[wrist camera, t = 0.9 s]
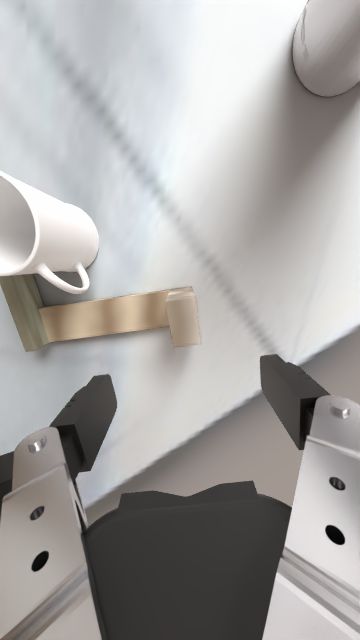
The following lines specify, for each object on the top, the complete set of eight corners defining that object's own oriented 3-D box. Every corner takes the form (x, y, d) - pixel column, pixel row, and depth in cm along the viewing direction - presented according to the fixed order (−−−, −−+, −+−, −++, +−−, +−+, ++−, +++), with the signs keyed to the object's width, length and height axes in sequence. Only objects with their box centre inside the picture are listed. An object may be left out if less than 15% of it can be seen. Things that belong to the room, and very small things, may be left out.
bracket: (176, 172, 25) (175, 126, 17) (195, 320, 30) (201, 344, 22) (-3, 201, 26) (-93, 172, 18) (44, 340, 31) (-7, 370, 23)
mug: (125, 272, 29) (89, 280, 17) (77, 302, 30) (12, 328, 19) (72, 189, 26) (-13, 133, 15) (21, 226, 27) (-95, 202, 16)
